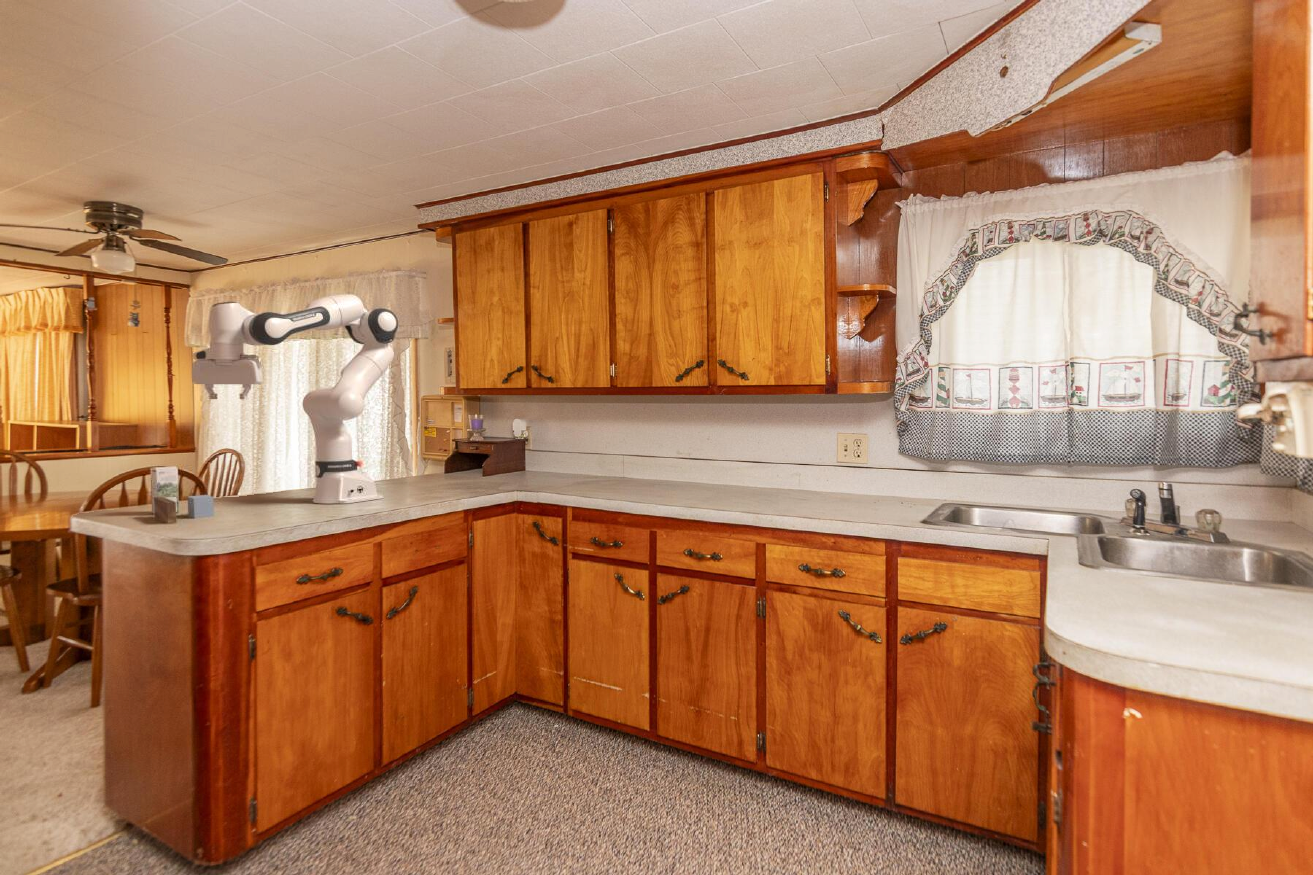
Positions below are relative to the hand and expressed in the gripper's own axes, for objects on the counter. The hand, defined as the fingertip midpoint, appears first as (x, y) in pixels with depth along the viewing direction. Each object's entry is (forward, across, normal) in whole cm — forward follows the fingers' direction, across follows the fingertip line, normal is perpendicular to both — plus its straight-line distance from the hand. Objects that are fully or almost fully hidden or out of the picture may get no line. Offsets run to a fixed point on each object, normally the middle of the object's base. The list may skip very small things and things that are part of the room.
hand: (228, 399), depth 212 cm
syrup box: (+36, +20, +2) cm, 41 cm away
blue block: (+36, +5, +7) cm, 37 cm away
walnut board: (+35, +11, +13) cm, 40 cm away
